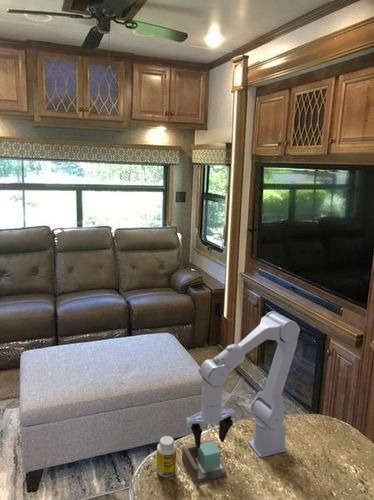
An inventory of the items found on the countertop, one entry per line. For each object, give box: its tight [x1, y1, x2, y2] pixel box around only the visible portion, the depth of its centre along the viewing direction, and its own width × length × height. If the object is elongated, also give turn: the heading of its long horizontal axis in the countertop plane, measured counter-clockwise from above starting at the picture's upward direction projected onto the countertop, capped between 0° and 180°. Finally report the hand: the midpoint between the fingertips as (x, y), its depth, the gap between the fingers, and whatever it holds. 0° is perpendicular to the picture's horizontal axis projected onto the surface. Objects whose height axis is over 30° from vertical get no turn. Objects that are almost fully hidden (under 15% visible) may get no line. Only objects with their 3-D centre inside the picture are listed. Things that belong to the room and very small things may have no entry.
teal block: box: [198, 440, 221, 471], centre depth 123 cm, size 5×5×5 cm
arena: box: [181, 439, 227, 484], centre depth 123 cm, size 10×10×4 cm
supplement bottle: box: [156, 435, 177, 478], centre depth 120 cm, size 6×6×10 cm
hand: (209, 442), depth 122 cm, fingers open, 7 cm apart
